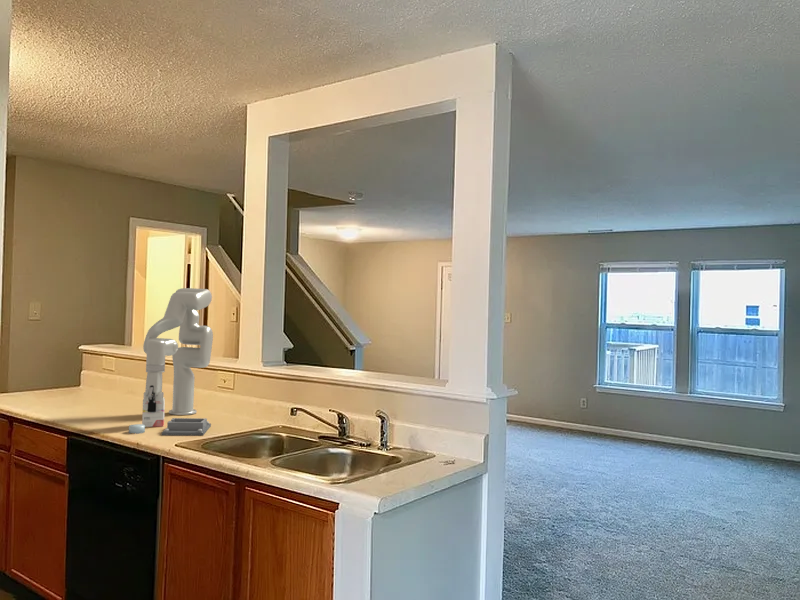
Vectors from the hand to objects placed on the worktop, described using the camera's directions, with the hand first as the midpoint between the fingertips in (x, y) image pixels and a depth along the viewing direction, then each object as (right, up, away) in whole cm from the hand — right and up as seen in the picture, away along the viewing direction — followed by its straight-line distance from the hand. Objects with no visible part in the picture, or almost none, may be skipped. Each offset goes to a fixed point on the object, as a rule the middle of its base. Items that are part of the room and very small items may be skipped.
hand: (153, 410), depth 270 cm
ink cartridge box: (0, -7, 0) cm, 7 cm away
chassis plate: (+17, -7, -8) cm, 20 cm away
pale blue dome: (-1, -7, -14) cm, 16 cm away
